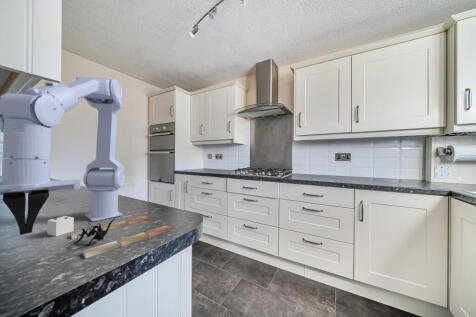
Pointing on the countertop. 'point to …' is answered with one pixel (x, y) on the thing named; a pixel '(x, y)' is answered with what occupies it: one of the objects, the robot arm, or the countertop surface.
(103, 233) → the creature
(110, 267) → the countertop surface
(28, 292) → the countertop surface
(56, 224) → the white rectangular block
